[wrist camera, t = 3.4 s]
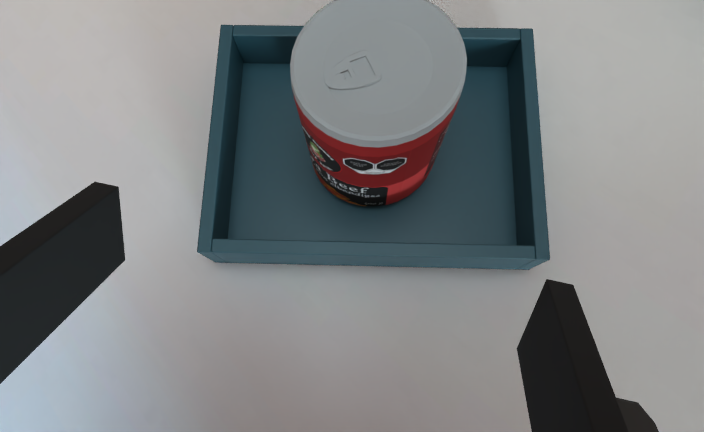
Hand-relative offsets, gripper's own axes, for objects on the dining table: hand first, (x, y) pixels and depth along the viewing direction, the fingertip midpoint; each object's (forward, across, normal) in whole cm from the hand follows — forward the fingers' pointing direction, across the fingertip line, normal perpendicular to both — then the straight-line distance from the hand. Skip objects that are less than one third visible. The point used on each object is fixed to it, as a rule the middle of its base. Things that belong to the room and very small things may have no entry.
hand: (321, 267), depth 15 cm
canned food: (+18, 0, -4) cm, 19 cm away
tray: (+18, 0, -4) cm, 19 cm away
